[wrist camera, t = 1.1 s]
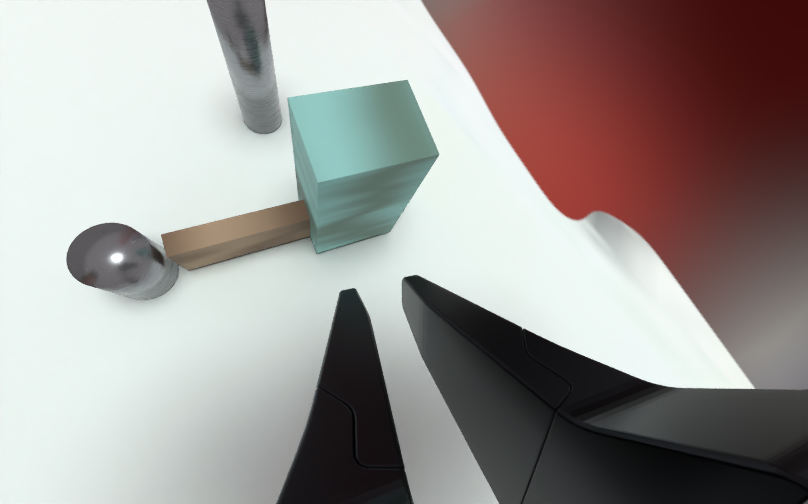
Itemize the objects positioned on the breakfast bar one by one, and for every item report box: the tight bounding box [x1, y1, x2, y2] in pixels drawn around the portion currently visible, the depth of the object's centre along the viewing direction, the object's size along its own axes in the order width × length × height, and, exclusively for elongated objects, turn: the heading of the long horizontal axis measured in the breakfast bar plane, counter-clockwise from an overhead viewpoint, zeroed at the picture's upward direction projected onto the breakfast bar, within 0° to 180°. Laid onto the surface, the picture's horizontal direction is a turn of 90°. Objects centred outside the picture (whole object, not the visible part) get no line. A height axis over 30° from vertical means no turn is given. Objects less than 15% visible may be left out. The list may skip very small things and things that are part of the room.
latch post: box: [207, 0, 282, 134], centre depth 19 cm, size 2×2×10 cm
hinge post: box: [67, 223, 179, 300], centre depth 17 cm, size 3×3×4 cm
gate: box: [161, 80, 439, 270], centre depth 17 cm, size 12×4×10 cm, turn 112°
